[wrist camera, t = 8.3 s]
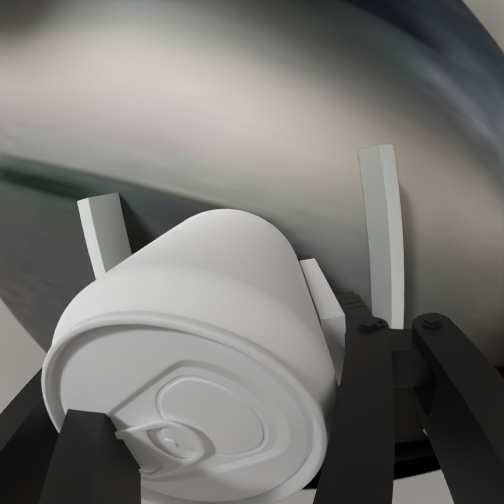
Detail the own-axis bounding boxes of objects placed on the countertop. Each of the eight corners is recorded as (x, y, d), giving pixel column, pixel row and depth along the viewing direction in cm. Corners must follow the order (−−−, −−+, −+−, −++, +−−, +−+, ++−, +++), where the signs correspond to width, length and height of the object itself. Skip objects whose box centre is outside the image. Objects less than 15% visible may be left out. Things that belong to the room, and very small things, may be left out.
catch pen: (108, 195, 19) (77, 201, 16) (368, 148, 18) (392, 143, 14) (154, 362, 23) (138, 393, 19) (382, 332, 21) (401, 361, 17)
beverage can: (327, 293, 18) (399, 462, 6) (217, 362, 19) (177, 531, 7) (241, 176, 16) (181, 189, 5) (133, 264, 18) (-7, 379, 6)
